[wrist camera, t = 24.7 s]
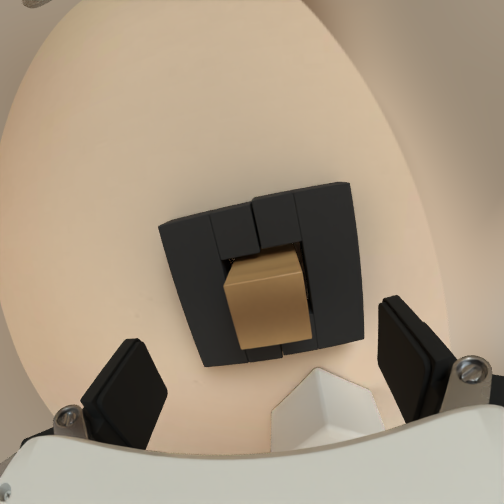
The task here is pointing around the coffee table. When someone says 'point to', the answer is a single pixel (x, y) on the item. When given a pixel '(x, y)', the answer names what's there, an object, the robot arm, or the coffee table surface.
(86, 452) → the robot arm
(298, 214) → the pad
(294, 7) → the coffee table surface
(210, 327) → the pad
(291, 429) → the medicine bottle
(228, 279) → the key
